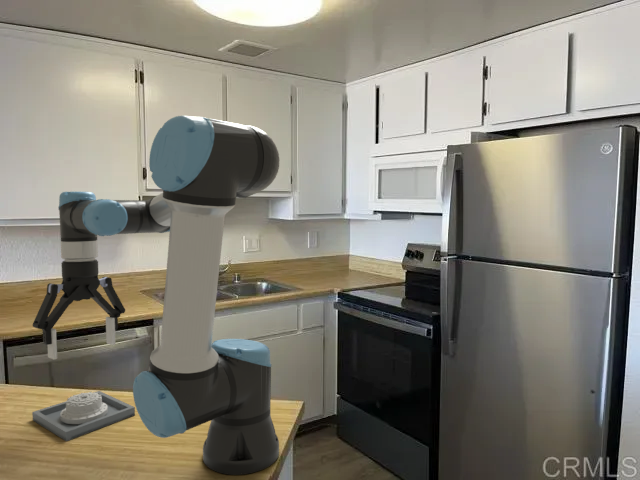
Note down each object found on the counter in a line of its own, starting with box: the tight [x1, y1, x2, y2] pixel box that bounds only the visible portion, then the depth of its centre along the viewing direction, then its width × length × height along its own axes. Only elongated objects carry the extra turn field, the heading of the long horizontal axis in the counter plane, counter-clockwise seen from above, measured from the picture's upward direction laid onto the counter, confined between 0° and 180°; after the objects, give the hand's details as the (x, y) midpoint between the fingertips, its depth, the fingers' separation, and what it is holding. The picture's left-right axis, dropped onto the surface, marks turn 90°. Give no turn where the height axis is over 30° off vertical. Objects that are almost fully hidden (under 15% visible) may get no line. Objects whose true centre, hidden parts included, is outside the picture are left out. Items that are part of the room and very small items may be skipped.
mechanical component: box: [60, 391, 108, 424], centre depth 113 cm, size 10×4×10 cm
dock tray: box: [32, 390, 136, 442], centre depth 113 cm, size 16×16×2 cm
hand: (83, 350), depth 112 cm, fingers open, 13 cm apart
